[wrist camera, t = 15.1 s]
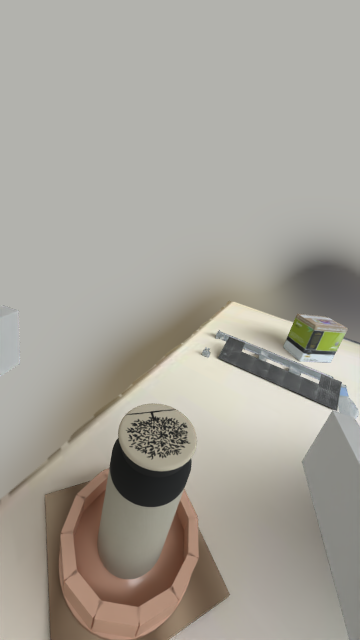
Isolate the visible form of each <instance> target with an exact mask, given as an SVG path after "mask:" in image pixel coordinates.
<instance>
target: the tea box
mask: <svg viewBox="0 0 360 640" xmlns="http://www.w3.org/2000/svg"><path fill="white" fill-rule="evenodd" d="M346 331H347V328H346V327H344V326H343V325H341V324H339V323H336V322H335V321H333V320H331V319H329V318H328V317H322V316H313V315H303V314H297V316H296V318H295V320H294V323H293V325H292V327H291V330H290V332H289V334H288V337H287V339H286V342H285V344H284V346H283V347H284V349H286V350H287V351H288V352H289V353H290V354H291V355H292V356H294V357H295V358H296V359H297V360H298V361H306V362H329V363H331V361H332V359H333V357H334V355H335V353H336V351H337V349H338V347H339V345H340V343H341V341H342V339H343V337H344V335H345V333H346Z"/></svg>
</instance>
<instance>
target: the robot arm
mask: <svg viewBox="0 0 360 640" xmlns="http://www.w3.org/2000/svg"><path fill="white" fill-rule="evenodd" d="M19 364H20V341H19V310H16V309H13V308H10V307H6V306H4V305H3V306H0V376H2V375H3V374H5V373H6V372H8V371H10V370H11V369H13V368H14V367H16V366H17V365H19ZM302 463H303V467H304V471H305V475H306V478H307V482H308V486H309V490H310V493H311V497H312V501H313V505H314V508H315V512H316V516H317V520H318V523H319V527H320V531H321V535H322V538H323V542H324V546H325V550H326V553H327V557H328V561H329V565H330V568H331V572H332V576H333V580H334V583H335V587H336V591H337V595H338V598H339V602H340V606H341V610H342V613H343V617H344V621H345V625H346V628H347V632H348V636H349V640H360V427H359V425H358V423H357V422H356V420H355V418H354V417H351V416H348V415H345V414H342V413H339V412H335V411H332V412H331V414H330V416H329V417H328V419H327V421H326V422H325V424H324V426H323V427H322V429H321V431H320V432H319V434H318V436H317V437H316V439H315V441H314V442H313V444H312V445H311V447H310V449H309V450H308V452H307V454H306V455H305V457H304V459H303V460H302Z"/></svg>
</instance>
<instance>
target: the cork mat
mask: <svg viewBox="0 0 360 640" xmlns="http://www.w3.org/2000/svg"><path fill="white" fill-rule="evenodd" d="M89 482H91V481H88V482H85V483H82V484H79V485H75V486H72V487H69V488H66V489H62V490H59V491H56V492H53V493H49V494H46V495H45V508H46V534H47V560H48V586H49V612H50V638H51V640H105V639H101V638H99V637H97V636H95V635H93V634H91V633H90V632H88V631H87V630H86V629H85V628H83V627H82V626H81V625H80V624H79V623H78V621H77V620H76V619H75V618H74V617H73V615H72V613H71V612H70V610H69V608H68V606H67V604H66V602H65V599H64V597H63V593H62V589H61V586H60V578H59V554H60V535H61V531H62V528H63V526H64V524H65V521H66V519H67V516H68V514H69V511H70V509H71V507H72V504H73V502H74V499H75V497H76V495H77V493H79V492H80V491H81V490H82V489H83V488H84V487H85V486H86V485H87V484H88V483H89ZM198 547H199V558H198V561H197V563H196V566H195V568H194V570H193V572H192V574H191V578H190V581H189V584H188V586H187V589H186V592H185V594H184V596H183V598H182V599H181V601H180V603H179V605H178V607H177V608H176V609H175V611H174V612H173V614H172V615H171V616H170V617H169V618H168V619H167V620H166V621H165V623H164V624H162V625H161V626H160V627H159V628H157V629H156V630H155V631H153V632H152V633H150V634H148V635H146V636H144V637H142V638H139V639H136V640H169V639H170V638H172V637H173V636H174V635H176V634H177V633H179V632H180V631H181V630H183V629H184V628H186V627H187V626H188V625H190V624H191V623H192V622H194V621H195V620H197V619H198V618H199V617H201V616H202V615H204V614H205V613H206V612H208V611H209V610H211V609H212V608H213V607H215V606H216V605H218V604H219V603H220V602H222V601H223V600H225V599H226V598H227V597H228V596H229V595H230V594H229V592H228V590H227V588H226V585H225V583H224V581H223V579H222V577H221V575H220V573H219V570H218V568H217V566H216V564H215V562H214V560H213V558H212V555H211V553H210V551H209V549H208V547H207V545H206V543H205V541H204V538H203V536H202V534H201V532H200V530H199V528H198Z"/></svg>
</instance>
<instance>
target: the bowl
mask: <svg viewBox="0 0 360 640" xmlns="http://www.w3.org/2000/svg"><path fill="white" fill-rule="evenodd" d="M108 474H109V469H106V470H103V471H101V472H100V473H99V474H98V475H97V476H96V477H95V478H94V479H93V480H92V481H91V482H89V483H88V484H87V485H86V486H85V487H84V488H83V489H82V490H81V491H80V492H79V493H77V495H76V497H75V499H74V502H73V504H72V507H71V509H70V511H69V514H68V516H67V519H66V521H65V524H64V526H63V528H62V531H61V535H60V554H59V578H60V586H61V589H62V593H63V597H64V599H65V602H66V604H67V606H68V608H69V610H70V612H71V613H72V615H73V617H74V618H75V619H76V620H77V621H78V623H79V624H80V625H81V626H82V627H83V628H85V629H86V630H87V631H88V632H90V633H91V634H93V635H95V636H97V637H99V638H101V639H105V640H136V639H139V638H142V637H144V636H146V635H148V634H150V633H152V632H153V631H155V630H156V629H157V628H159V627H160V626H161V625H162V624H164V623H165V621H166V620H167V619H168V618H169V617H170V616H171V615H172V614H173V612H174V611H175V609H176V608H177V607H178V605H179V603H180V601H181V599H182V598H183V596H184V594H185V592H186V589H187V586H188V584H189V581H190V578H191V574H192V572H193V570H194V568H195V566H196V563H197V561H198V558H199V547H198V518H197V514H196V512H195V510H194V508H193V506H192V504H191V502H190V500H189V498H188V496H187V494H186V492H185V489H184V491H183V493H182V496H181V499H180V502H179V504H178V507H177V510H176V513H175V516H174V518H173V521H172V524H171V527H170V529H169V532H168V535H167V538H166V541H165V543H164V546H163V549H162V552H161V554H160V557H159V559H158V561H157V562H156V564H155V565H154V566H153V568H152V569H151V570H150V571H149V572H147V573H146V574H144V575H143V576H141V577H138V578H135V579H122V578H118V577H116V576H114V575H113V574H111V573H110V572H109V571H108V570H107V569H106V568H105V566H104V565H103V563H102V561H101V559H100V556H99V553H98V545H97V540H98V533H99V527H100V521H101V515H102V509H103V503H104V497H105V491H106V485H107V480H108Z"/></svg>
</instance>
